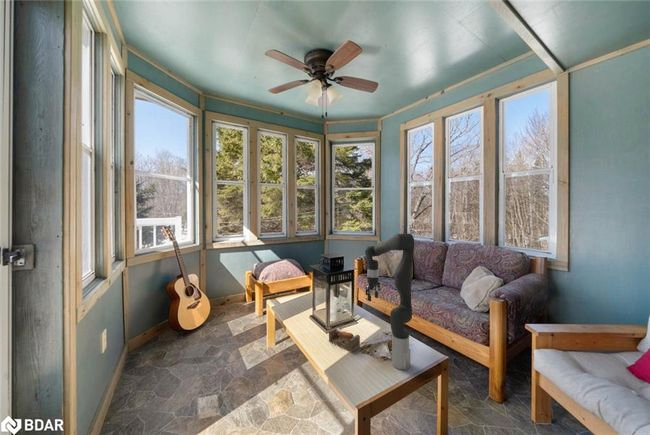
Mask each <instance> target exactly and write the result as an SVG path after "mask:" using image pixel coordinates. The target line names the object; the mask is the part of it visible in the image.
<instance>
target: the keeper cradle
mask: <svg viewBox="0 0 650 435" xmlns="http://www.w3.org/2000/svg"><path fill="white" fill-rule="evenodd" d="M337 328H339V329H341V328H340V326H335V327H333V328H331V329H330V330H329V331H328V342H329V343H332V345H333V344H334V345H336V346H337V347H340V348H342V349H343V350H345V351H348V352H350V353H353V352H354V351H356V350H357V349H359V348H360V346H361V335H359V334H356V335H354V337H353V338H351V339H350V340H349V339H347V340H346V339H344V338H343V340H344V341H342V338H341V342H339V341H340V337H339V335H338V332H336V330H337ZM348 342H349V343H348Z"/></svg>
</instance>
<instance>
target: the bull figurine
mask: <svg viewBox="0 0 650 435" xmlns="http://www.w3.org/2000/svg"><path fill="white" fill-rule="evenodd" d="M336 332H338V335H339V337H340V341H339V342H341V338H342V341H344V340H343V338H344V339H346V340H347V339H349V340H350V339H351V338H353V337H354V336H355V335H354V334H353V333H351V332H346V331H344V330H343V329H342V328H340V329H339V328H337V330H336ZM348 343H349V342H348Z"/></svg>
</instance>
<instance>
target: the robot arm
mask: <svg viewBox="0 0 650 435" xmlns="http://www.w3.org/2000/svg"><path fill="white" fill-rule="evenodd" d="M414 250H415V237H414V236H413V234H412V233H397V234H395V235H392V237H390V238H388V239H387V240H386V241H385V240H384V241H381V242H379V243H377V244H376V245H370V246H369V245H368V246H366V247H365V249H364V255H365V257H366V261H367V275H366V276H367V279H366V280H367V283H368V285H366V286H365V296H367V301H368V302H372V293H374V298H376V299H378V298H379V292H380V291H381V282H379V280H380V278H379V277H380V274H379V261H378V260H376V259H374V258H373V257H380V256H381V255H384V254H388V253H389V252H390V251H402V256H401V257H402V258H401V260H400V262H399V263H398V264H397V267H396V268H395V272H394V286H395V289H396V291H397V292H398V295H399V306H397V307H394V308H392V309H391V311H390V315H389V316H390V317H389V319H390V330H391V335H392V337H391V344H392V345H391V349H392V350H391V357H392V358H391V364H392V366H393V368H395V369H399V370H404V371H407V370H408V369H409V368H410V366H411V348H410V331H409V329H407V328H405V326H404V325H406V324H407V323H409V322H411V321H412V318H413V308H412V304H413V303H412V283H413V282H412V279H413V275H412V274H413V271H412V270H413V257H414V252H415V251H414Z"/></svg>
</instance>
